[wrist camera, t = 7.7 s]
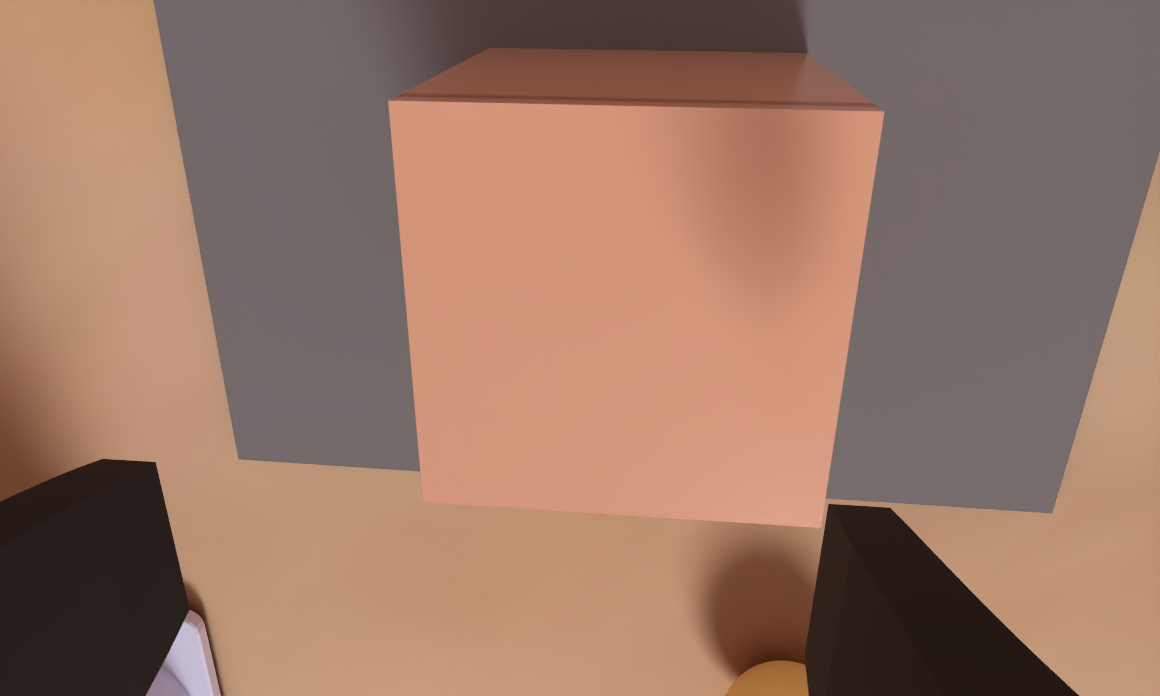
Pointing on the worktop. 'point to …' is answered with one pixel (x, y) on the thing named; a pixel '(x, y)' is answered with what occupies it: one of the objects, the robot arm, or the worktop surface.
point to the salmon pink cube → (632, 278)
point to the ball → (772, 680)
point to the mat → (695, 23)
